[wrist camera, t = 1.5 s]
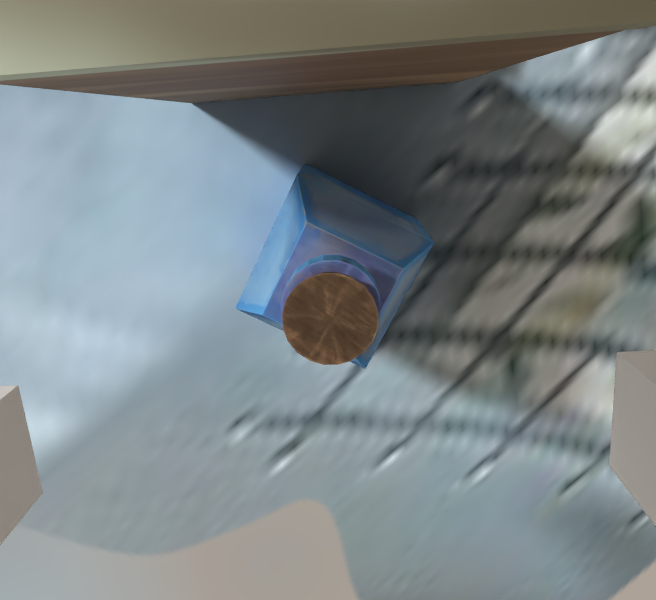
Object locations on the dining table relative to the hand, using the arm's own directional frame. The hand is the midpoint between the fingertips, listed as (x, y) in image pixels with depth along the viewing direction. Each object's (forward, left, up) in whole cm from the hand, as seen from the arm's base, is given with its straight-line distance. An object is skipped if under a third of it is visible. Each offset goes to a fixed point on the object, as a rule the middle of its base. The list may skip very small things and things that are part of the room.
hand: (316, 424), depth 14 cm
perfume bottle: (0, 0, -19) cm, 19 cm away
